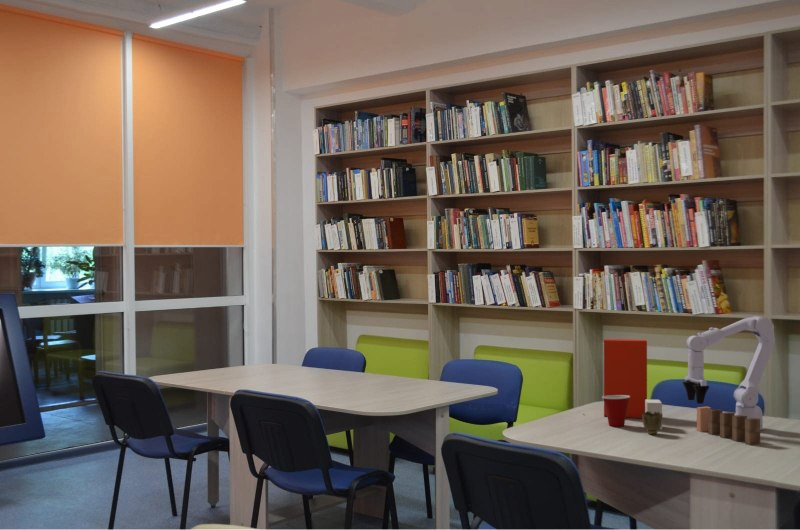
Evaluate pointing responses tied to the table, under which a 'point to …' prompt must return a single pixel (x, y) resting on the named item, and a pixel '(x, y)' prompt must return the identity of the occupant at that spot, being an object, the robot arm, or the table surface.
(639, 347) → the tall red box
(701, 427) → the domino
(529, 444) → the table surface
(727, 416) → the domino
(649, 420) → the cup
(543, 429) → the table surface
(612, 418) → the plastic cup
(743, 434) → the domino
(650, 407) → the small box
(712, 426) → the domino
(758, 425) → the domino
